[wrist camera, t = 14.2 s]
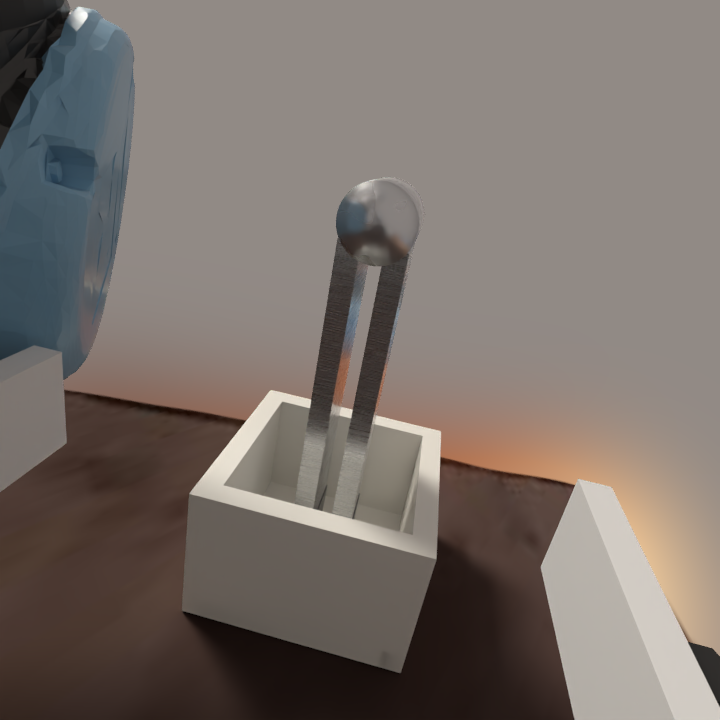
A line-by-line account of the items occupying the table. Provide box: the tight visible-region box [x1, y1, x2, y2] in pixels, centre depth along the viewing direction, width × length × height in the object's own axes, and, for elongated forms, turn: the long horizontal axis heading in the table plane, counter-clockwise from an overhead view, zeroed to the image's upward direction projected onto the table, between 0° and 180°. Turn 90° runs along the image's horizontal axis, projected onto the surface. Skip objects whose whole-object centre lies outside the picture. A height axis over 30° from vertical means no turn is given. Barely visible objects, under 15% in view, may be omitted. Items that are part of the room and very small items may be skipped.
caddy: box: [182, 390, 441, 673], centre depth 26 cm, size 10×10×6 cm
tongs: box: [294, 177, 424, 519], centre depth 23 cm, size 3×5×18 cm, turn 171°
